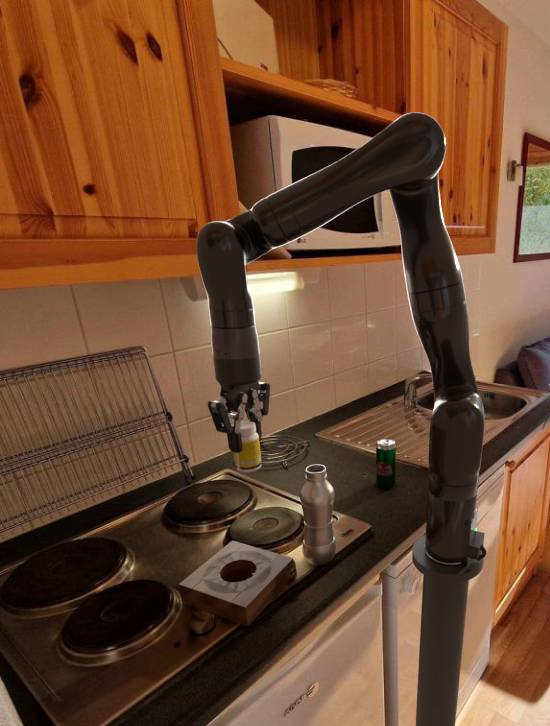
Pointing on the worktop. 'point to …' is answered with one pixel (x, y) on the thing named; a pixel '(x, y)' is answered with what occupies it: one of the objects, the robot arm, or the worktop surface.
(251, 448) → the supplement bottle
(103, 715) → the worktop surface
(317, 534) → the silver metal bottle
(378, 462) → the soda can
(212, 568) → the bottle holder
